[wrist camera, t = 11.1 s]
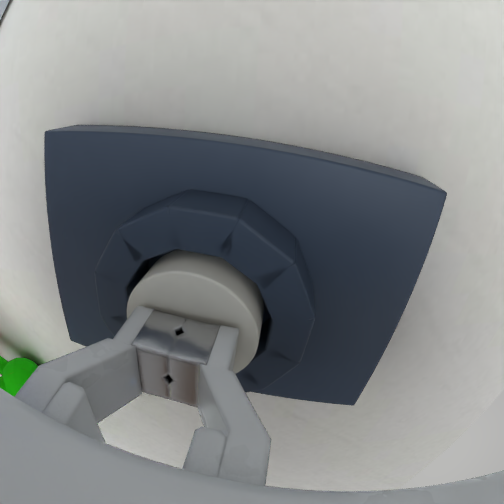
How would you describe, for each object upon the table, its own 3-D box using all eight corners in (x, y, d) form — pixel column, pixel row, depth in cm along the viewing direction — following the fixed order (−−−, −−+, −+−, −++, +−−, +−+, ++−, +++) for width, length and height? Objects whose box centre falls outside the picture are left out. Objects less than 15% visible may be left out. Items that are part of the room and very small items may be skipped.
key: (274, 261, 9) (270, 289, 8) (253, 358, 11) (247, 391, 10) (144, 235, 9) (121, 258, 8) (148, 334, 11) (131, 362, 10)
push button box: (423, 177, 10) (475, 210, 7) (350, 373, 15) (357, 437, 11) (77, 124, 11) (10, 139, 7) (90, 316, 15) (51, 363, 12)
